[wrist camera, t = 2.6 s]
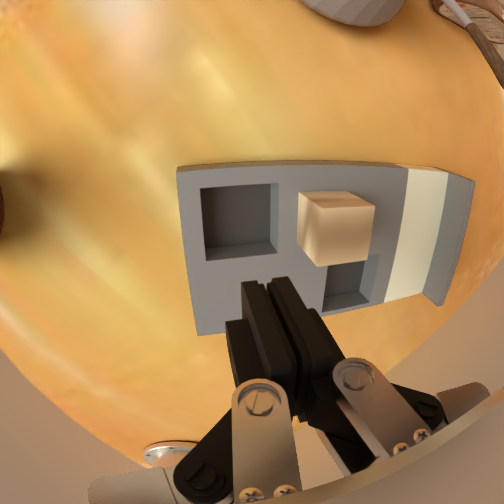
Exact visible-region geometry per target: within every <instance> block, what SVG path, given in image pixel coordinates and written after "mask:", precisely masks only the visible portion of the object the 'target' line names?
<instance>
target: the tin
mask: <svg viewBox="0 0 504 504" xmlns="http://www.w3.org/2000/svg"><path fill="white" fill-rule="evenodd" d="M455 1H456V2H457V3H458V5H459V6H460V7H461V8H462V9H463V10H464V12H465V13H466V14H467V15H468V17H469V18H470V19H471V20H472V22H474V23H475V24H476V25H477V26H478V28H479V29H480V30H481V31H482V33H483V34H484V35H485V36H486V38H487V39H488V40H489V41H490V42H493V43H496V44H504V5H503V4H502V3H501V2H500V1H499V0H455ZM433 5H434V8H435V10H436V11H437V12H438V13H439V14H440V15H442V16H443V17H445V18H447V19H449V20H451V21H452V22H454V23H456V24H457V25H459V26H461V27H463V28H464V29H465V26H464V25H463V24H462V23H461V21H460V20H459V19H458V18H457V17H456V16H455V15H454V13H453V12H452V11H451V10H450V9H449V8H448V7H447V6H446V5H445V4H444V3H443V2H442V1H441V0H433Z"/></svg>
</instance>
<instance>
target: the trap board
mask: <svg viewBox="0 0 504 504" xmlns="http://www.w3.org/2000/svg"><path fill="white" fill-rule="evenodd" d="M176 177H177V189H178V199H179V209H180V219H181V228H182V236H183V244H184V252H185V260H186V267H187V274H188V281H189V288H190V294H191V300H192V306H193V312H194V318H195V324H196V330H197V335H198V336H203V335H211V334H219V333H226V328H225V321H230V320H238V319H242V303H241V282H244V281H253V280H257V281H258V284H261V283H263V284H264V286H265V288H266V286H267V283H269V282H271V280H272V278H277V277H284V276H288V277H289V278H290V280H291V282H292V284H293V285H294V287H295V289H296V290H297V292H298V294H299V295H300V297H301V299H302V301H303V302H304V304H305V306H306V307H307V309H309V308H314V309H316V311H317V312H318V314H319V315H320V317H323V316H328V315H333V314H337V313H342V312H347V311H351V310H356V309H360V308H364V307H369V306H373V305H377V304H381V303H385V302H389V301H393V300H397V299H400V298H404V297H408V296H412V295H415V294H419V293H423V294H424V295H425V296H426V297H427V298H429V299H430V300H431V301H432V302H433V303H434V304H435V305H436V306H437V307H438V306H441V305H443V303H444V301H445V298H446V295H447V292H448V290H449V287H450V284H451V281H452V278H453V275H454V271H455V268H456V265H457V262H458V258H459V255H460V251H461V247H462V244H463V240H464V236H465V232H466V227H467V223H468V218H469V214H470V209H471V203H472V198H473V192H474V186H475V181H473V180H470V179H468V178H465V177H462V176H460V175H457V174H454V173H451V172H448V171H446V170H443V169H440V168H435V167H426V166H416V165H405V164H393V163H379V162H361V161H331V160H281V161H251V162H232V163H217V164H204V165H193V166H182V167H178V168H177V171H176ZM317 191H348V192H350V193H352V194H354V195H355V196H357V197H359V198H361V199H363V200H365V201H367V202H369V203H371V204H372V205H374V206H375V212H374V219H373V226H372V233H371V240H370V246H369V252H368V257H367V260H363V261H356V262H349V263H342V264H335V265H328V266H321V267H317V266H316V265H315V264H314V263H313V262H312V260H311V259H310V258H309V257H308V256H307V254H306V253H305V252H304V251H303V250H302V248H301V247H300V246H299V245H298V244H297V243H296V242H297V222H298V197H299V192H317Z"/></svg>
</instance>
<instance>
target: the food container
mask: <svg viewBox="0 0 504 504" xmlns="http://www.w3.org/2000/svg"><path fill="white" fill-rule="evenodd" d="M3 219H4V204H3V196H2V192H1V187H0V233H1V230H2V226H3Z"/></svg>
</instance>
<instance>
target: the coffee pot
mask: <svg viewBox="0 0 504 504" xmlns="http://www.w3.org/2000/svg"><path fill="white" fill-rule="evenodd" d="M299 1H301V2H302V3H303V4H305V5H306V6H307V7H308V8H310V9H311V10H313V11H315V12H317V13H319V14H321V15H323V16H324V17H326V18H329V19H332V20H335V21H338V22H341V23H344V24H350V25H356V26H362V27H366V26H378V25H381V24H383V23H386V22H388V21H390V20H391V19H392V18H393V17H394V16H395V15H396V14H397V13H398V12H399V10H400V9H401V7H402V6H403V4H404V3H405V1H406V0H299ZM441 1H442V2H443V3H444V4H445V5H446V6H447V7H448V8H449V9H450V10H451V11H452V12H453V13H454V15H455V16H456V17H457V18H458V19H459V20H460V21H461V23H462V24H463V25H464V26H465V29H466V30H467V32H468V33H469V34H470V36H471V37H472V39H473V40H474V42H475V43H476V45H477V46H478V48H479V49H480V51H481V52H482V54H483V56H484V57H485V59H486V60H487V62H488V64H489V65H490V67H491V69H492V71H493V72H494V74H495V76H496V78H497V80H498V82H499V83H500V85H501V86H502V88H503V89H504V61H503V59H502V58H501V56H500V55H499V54H498V52H497V51H496V49H495V48H494V47H493V45H492V44H491V43H490V41H489V40H488V39H487V38H486V36H485V35H484V34H483V33H482V31H481V30H480V29H479V28H478V26H477V25H476V24H475V23H474V22H472V20H471V19H470V18H469V17H468V15H467V14H466V13H465V12H464V10H463V9H462V8H461V7H460V6H459V5H458V3H457V2H456V1H455V0H441Z"/></svg>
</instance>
